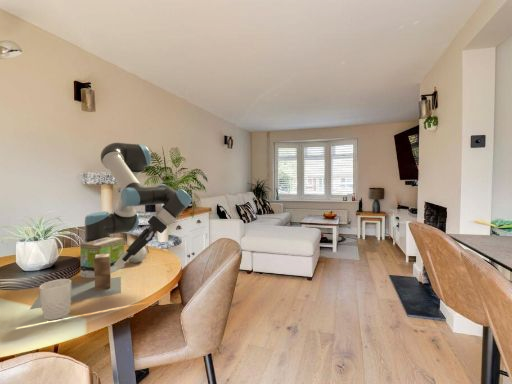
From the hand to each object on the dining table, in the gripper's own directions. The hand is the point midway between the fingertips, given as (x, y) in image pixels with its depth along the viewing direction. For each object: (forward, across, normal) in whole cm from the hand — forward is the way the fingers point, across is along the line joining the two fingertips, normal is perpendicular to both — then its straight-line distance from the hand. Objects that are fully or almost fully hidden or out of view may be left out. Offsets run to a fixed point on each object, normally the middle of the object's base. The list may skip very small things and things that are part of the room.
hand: (117, 266), depth 104 cm
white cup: (+18, +16, -6) cm, 24 cm away
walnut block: (+9, 0, +2) cm, 9 cm away
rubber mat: (+14, 0, -3) cm, 14 cm away
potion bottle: (-1, -32, +12) cm, 35 cm away
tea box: (+10, -20, +2) cm, 22 cm away
